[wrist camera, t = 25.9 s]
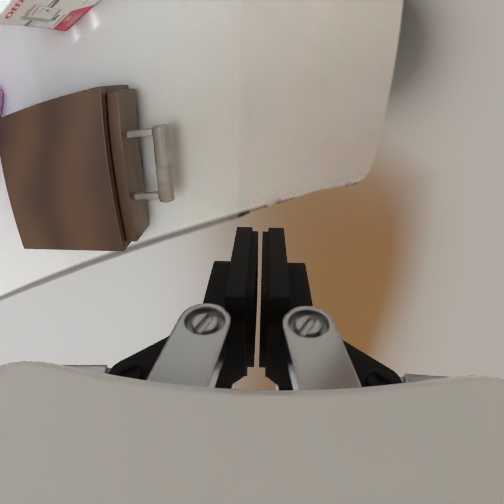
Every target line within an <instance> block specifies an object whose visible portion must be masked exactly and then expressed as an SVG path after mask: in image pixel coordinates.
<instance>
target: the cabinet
mask: <svg viewBox="0 0 504 504" xmlns="http://www.w3.org/2000/svg"><path fill="white" fill-rule="evenodd" d="M127 89H128V85H114V86H101V87H96V88H92V89H88V90H84V91H80V92H76V93H72V94H69V95H65V96H62V97H58V98H55V99H52V100H49V101H46V102H42V103H39V104H37V105H34V106H31V107H28V108H25V109H22V110H20V111H17V112H15V113H12V114H9V115H7V116H4V117H2V118H0V157H1V162H2V168H3V173H4V178H5V182H6V187H7V191H8V195H9V199H10V203H11V207H12V210H13V214H14V218H15V221H16V224H17V228H18V231H19V234H20V237H21V240H22V243H23V246H24V248H25V249H60V250H100V251H124V250H125V249H126V248H127V246H128V245H129V244H130V242H131V241H127V240H126V235H125V230H124V225H122V221H121V216H120V211H119V205H118V200H117V194H116V188H115V181H114V175H113V168H112V160H111V153H110V144H109V135H108V125H107V113H106V101H107V94H106V93H107V92H111V91H116V90H127Z"/></svg>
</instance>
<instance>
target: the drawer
mask: <svg viewBox="0 0 504 504" xmlns="http://www.w3.org/2000/svg"><path fill="white" fill-rule="evenodd" d="M106 94H107V101H106V113H107V125H108V135H109V144H110V153H111V160H112V168H113V175H114V181H115V188H116V194H117V200H118V205H119V211H120V216H121V221H122V225H124V230H125V235H126V240H127V241H138V239H139V238H140V237H141V235H142V234H143V232H144V231H145V230H146V228H147V227H148V226H149V218H148V211H147V205H146V199H160V202H171V201H173V200H174V189H173V178H172V167H171V155H170V141H169V126H168V124H162V125H156V126H153V127H152V128H148V129H139V130H138V124H137V110H136V92H135V89H127V90H116V91H111V92H107V93H106ZM150 135H153V141H154V152H155V163H156V173H157V182H158V191H153V192H145V190H144V182H143V174H142V166H141V157H140V147H139V137H140V136H150Z"/></svg>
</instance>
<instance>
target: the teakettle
mask: <svg viewBox="0 0 504 504" xmlns="http://www.w3.org/2000/svg"><path fill="white" fill-rule="evenodd" d="M2 102H3V92H2V91H1V90H0V118H1V110H2Z"/></svg>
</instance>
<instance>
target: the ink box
mask: <svg viewBox="0 0 504 504" xmlns="http://www.w3.org/2000/svg"><path fill="white" fill-rule="evenodd" d="M99 1H100V0H0V24H5V25H20V26H31V27H41V28H49V29H56V30H63V31H67V30H68V29H69V28H70V27H71V26H72V25H73V24H74V23H75V22H76V21H77V20H78V19H79V18H81V17H82V16H83V15H84V14H85V13H86V12H87V11H88V10H89V9H90V8H92V7H93V6H94V5H95V4H96V3H97V2H99Z"/></svg>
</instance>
